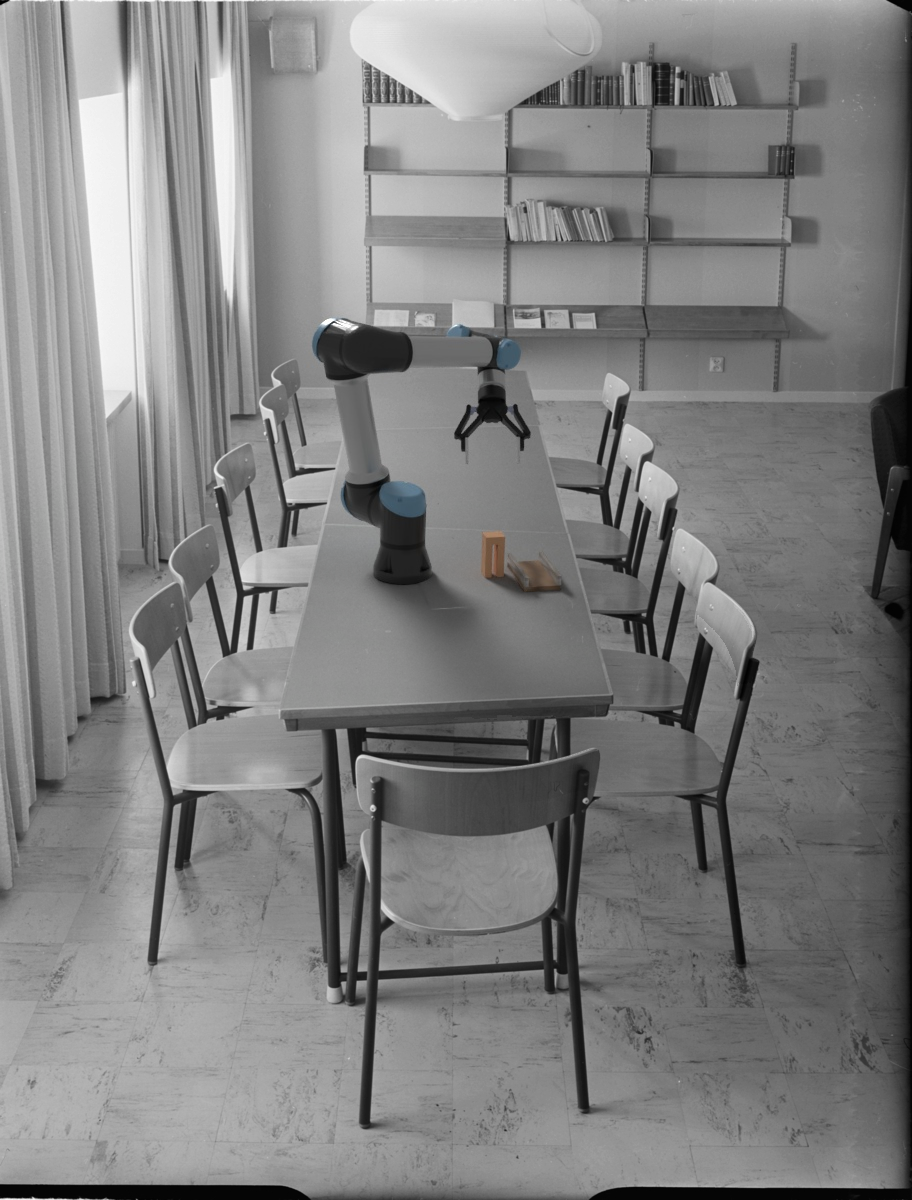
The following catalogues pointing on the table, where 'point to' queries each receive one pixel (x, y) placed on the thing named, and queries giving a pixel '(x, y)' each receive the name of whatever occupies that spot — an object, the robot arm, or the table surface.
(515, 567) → the rail
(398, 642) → the table surface
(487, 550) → the clip
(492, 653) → the table surface
